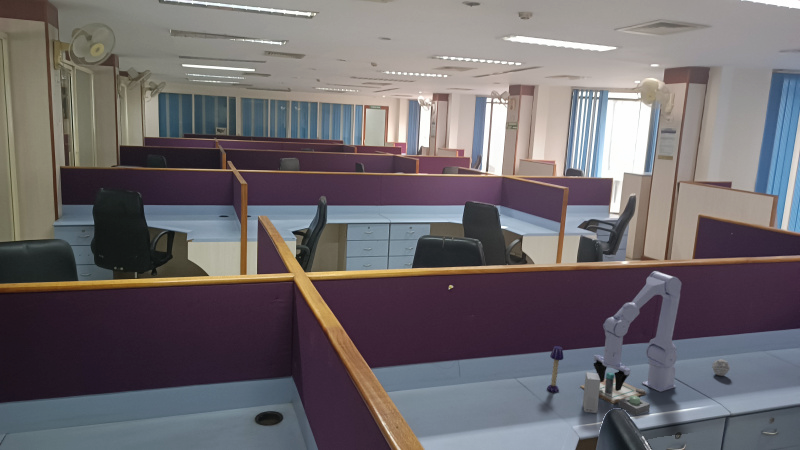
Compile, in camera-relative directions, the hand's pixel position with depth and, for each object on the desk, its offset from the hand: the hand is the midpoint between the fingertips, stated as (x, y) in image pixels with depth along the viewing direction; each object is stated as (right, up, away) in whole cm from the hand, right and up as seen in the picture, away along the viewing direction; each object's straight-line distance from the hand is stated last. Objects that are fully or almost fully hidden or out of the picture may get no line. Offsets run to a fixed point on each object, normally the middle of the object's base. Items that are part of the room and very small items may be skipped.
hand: (609, 385), depth 208 cm
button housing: (+5, -5, -10) cm, 12 cm away
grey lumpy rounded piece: (+52, -2, +20) cm, 55 cm away
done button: (+5, -5, -10) cm, 12 cm away
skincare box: (-11, -5, -11) cm, 17 cm away
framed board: (+2, -3, +3) cm, 5 cm away
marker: (0, -2, 0) cm, 2 cm away
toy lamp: (-20, -2, +2) cm, 20 cm away
